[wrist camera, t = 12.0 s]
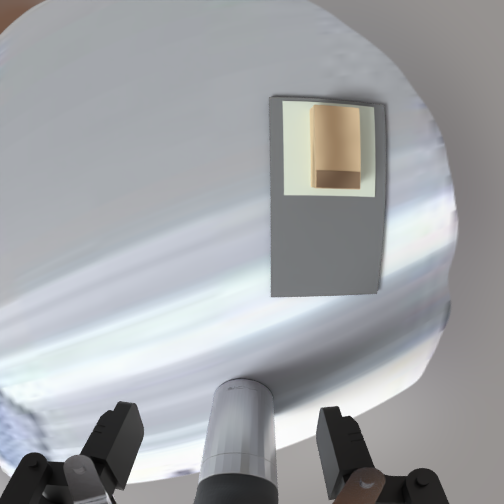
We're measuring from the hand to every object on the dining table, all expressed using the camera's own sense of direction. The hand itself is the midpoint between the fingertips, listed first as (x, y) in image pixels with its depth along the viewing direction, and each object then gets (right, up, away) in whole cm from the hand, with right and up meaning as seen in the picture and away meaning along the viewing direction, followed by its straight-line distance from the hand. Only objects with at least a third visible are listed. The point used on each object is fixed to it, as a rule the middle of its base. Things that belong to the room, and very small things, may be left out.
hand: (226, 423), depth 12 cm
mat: (+10, +13, +24) cm, 29 cm away
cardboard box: (+10, +19, +21) cm, 30 cm away
